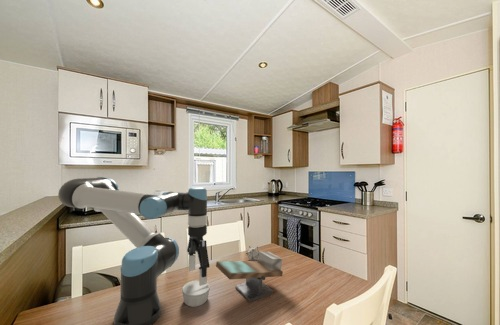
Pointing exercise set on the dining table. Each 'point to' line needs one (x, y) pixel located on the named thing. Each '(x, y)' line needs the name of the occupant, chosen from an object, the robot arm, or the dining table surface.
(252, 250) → the grey lumpy piece
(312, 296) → the dining table surface
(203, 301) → the ramekin
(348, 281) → the dining table surface
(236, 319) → the dining table surface
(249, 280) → the fulcrum
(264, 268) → the beam
